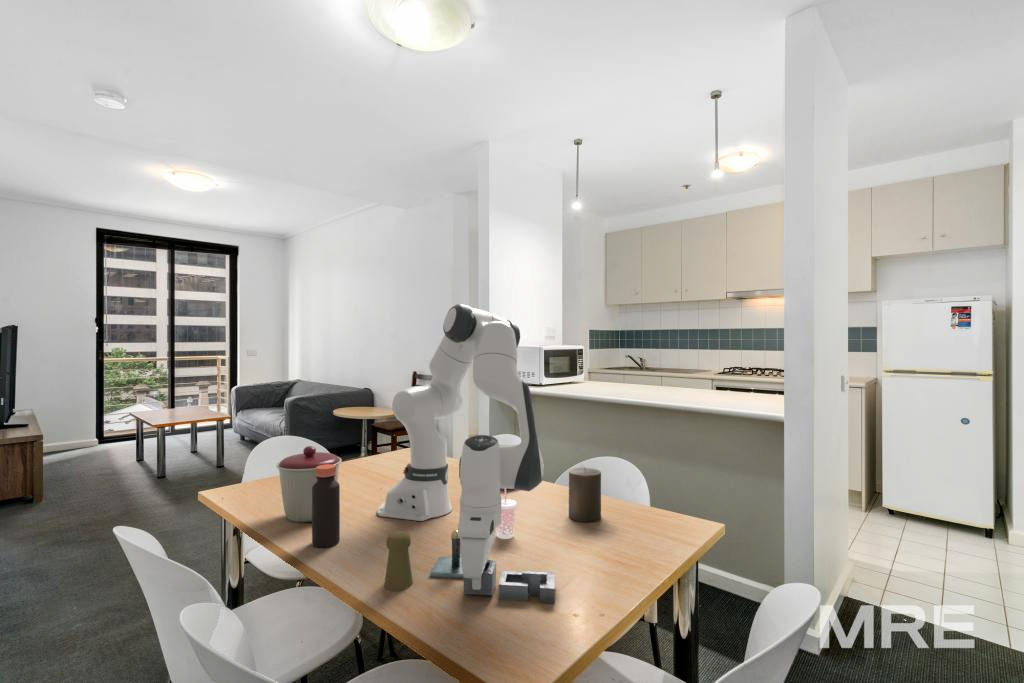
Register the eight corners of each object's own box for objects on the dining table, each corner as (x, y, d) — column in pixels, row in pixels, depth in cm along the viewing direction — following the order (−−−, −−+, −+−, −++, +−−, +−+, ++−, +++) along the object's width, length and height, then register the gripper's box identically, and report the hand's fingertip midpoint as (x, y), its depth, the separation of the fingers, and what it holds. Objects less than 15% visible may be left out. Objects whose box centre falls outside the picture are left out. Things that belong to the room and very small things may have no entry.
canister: (266, 517, 150) (266, 446, 150) (324, 502, 163) (324, 437, 163) (292, 533, 137) (292, 456, 137) (352, 516, 151) (352, 446, 150)
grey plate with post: (430, 576, 113) (430, 536, 112) (439, 560, 120) (439, 523, 120) (474, 578, 111) (474, 538, 111) (480, 562, 119) (480, 524, 119)
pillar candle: (600, 523, 145) (601, 471, 145) (566, 521, 147) (567, 469, 147) (601, 512, 154) (601, 464, 154) (569, 510, 156) (570, 462, 156)
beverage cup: (512, 541, 132) (512, 488, 132) (490, 538, 134) (490, 486, 134) (519, 533, 138) (519, 482, 138) (499, 530, 140) (499, 480, 140)
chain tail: (498, 600, 102) (498, 578, 102) (502, 583, 109) (502, 563, 109) (554, 603, 101) (554, 581, 101) (555, 586, 108) (555, 566, 108)
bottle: (319, 550, 126) (319, 471, 126) (307, 543, 130) (307, 466, 130) (344, 542, 131) (344, 466, 131) (331, 535, 136) (331, 462, 135)
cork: (386, 577, 112) (386, 528, 112) (414, 576, 112) (414, 527, 112) (382, 591, 106) (382, 539, 106) (411, 590, 106) (411, 538, 106)
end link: (463, 593, 104) (463, 571, 104) (469, 579, 110) (469, 559, 110) (492, 595, 103) (492, 573, 103) (496, 581, 109) (496, 560, 109)
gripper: (474, 497, 117) (474, 556, 117) (455, 532, 97) (455, 603, 97) (501, 499, 116) (501, 558, 116) (487, 533, 96) (487, 605, 96)
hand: (480, 579), depth 106 cm, fingers closed on end link, 6 cm apart
